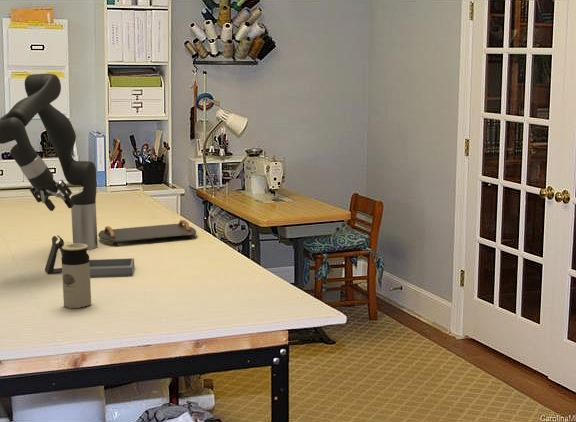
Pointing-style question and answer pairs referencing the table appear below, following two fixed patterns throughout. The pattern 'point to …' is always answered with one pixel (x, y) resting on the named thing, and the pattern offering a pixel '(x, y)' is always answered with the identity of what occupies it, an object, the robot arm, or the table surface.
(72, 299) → the travel mug
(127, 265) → the tray
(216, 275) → the table surface
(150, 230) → the serving board
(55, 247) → the phone stand
